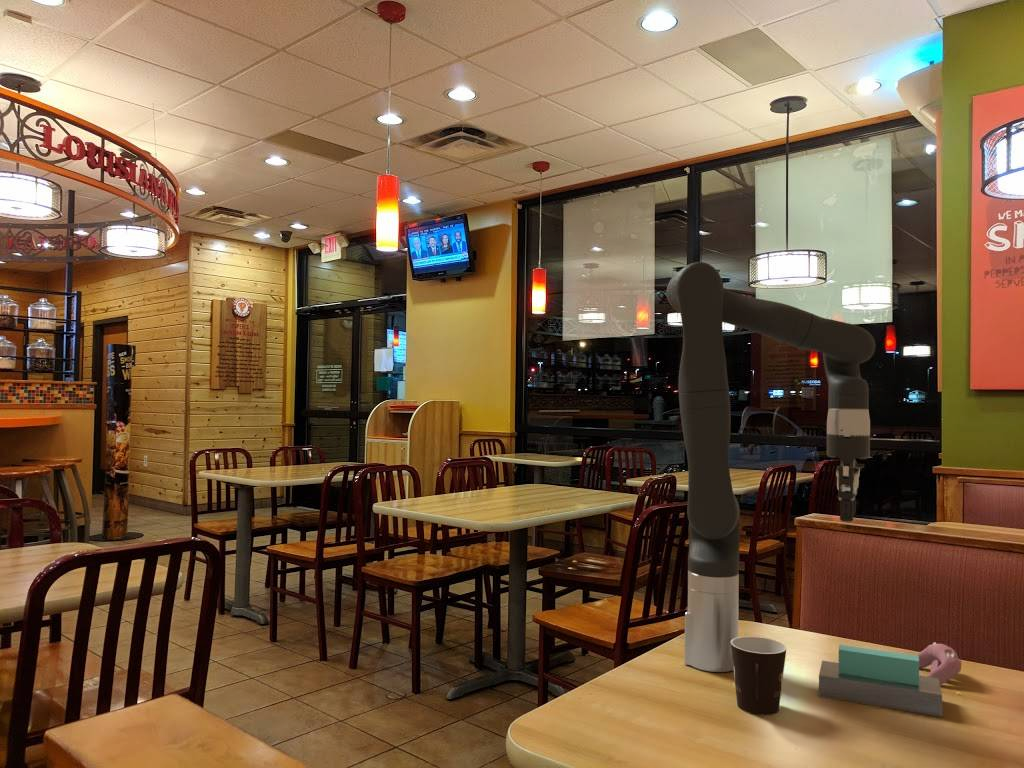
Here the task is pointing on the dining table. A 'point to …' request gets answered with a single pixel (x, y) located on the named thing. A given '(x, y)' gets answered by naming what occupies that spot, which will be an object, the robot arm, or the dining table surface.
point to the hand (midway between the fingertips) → (847, 518)
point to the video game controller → (940, 661)
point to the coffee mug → (758, 673)
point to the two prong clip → (879, 665)
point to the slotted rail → (881, 691)
